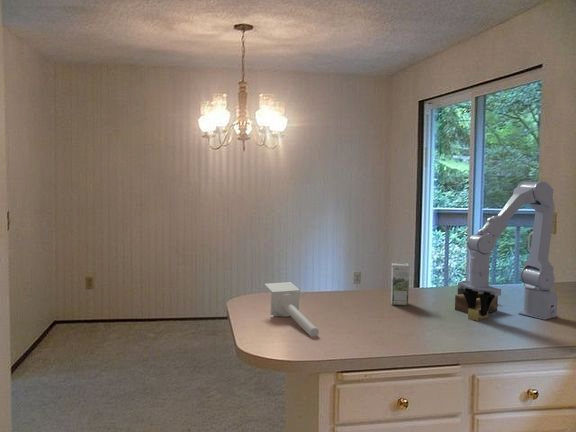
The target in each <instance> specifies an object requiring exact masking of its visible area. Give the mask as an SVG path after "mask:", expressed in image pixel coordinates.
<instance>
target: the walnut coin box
mask: <svg viewBox="0 0 576 432" xmlns="http://www.w3.org/2000/svg"><path fill="white" fill-rule="evenodd" d="M479 294H483V293H480V292H478V294H477V299H476V306H481V302H480V297H479ZM498 301H499V296H495V297H494V299H493V300H492V302H491V304H490V306H489V309H488V314H490V313H493V312H498V306H499V304H498ZM454 310H455V311H458V310H459V312H462V311H463V312H462V313H466V312H467V313H466V314H468V304H467V301H466V298H465V296H464V295H463V294H459V295H457V294H455V297H454Z"/></svg>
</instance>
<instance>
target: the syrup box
mask: <svg viewBox="0 0 576 432" xmlns="http://www.w3.org/2000/svg"><path fill="white" fill-rule="evenodd" d="M390 277H391V278H390V303H391V306H402V307H403V306H405V307H406V306H409V288H410V287H409V285H410V265H409V263H408V262H391V276H390Z"/></svg>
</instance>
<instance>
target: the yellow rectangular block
mask: <svg viewBox="0 0 576 432" xmlns="http://www.w3.org/2000/svg"><path fill="white" fill-rule="evenodd" d="M488 316H489V313H488V312H487V315H486V316H481V306H475V307H472V308H468V313H467V320H471V321H475V320H476V321H477V322H479V321H483V320H486V319H488V318H489V317H488Z"/></svg>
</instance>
